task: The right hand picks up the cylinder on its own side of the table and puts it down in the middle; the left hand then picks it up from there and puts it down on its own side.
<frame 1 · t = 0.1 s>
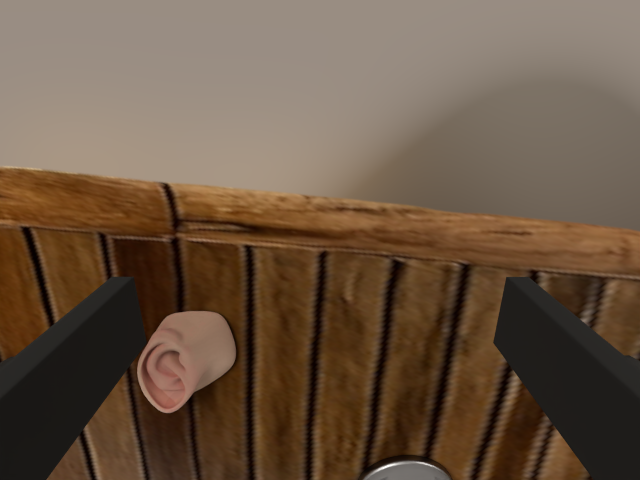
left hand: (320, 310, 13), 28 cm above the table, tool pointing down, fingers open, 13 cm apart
anatomical model: (191, 350, 47), on the table
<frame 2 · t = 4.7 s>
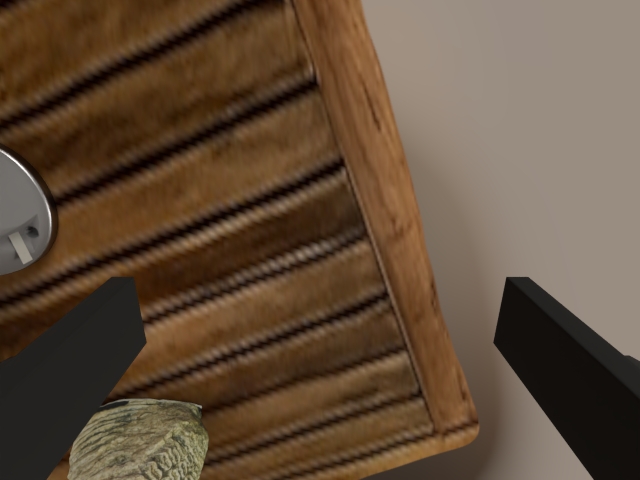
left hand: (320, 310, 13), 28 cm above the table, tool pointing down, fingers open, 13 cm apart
fossil: (153, 416, 51), on the table
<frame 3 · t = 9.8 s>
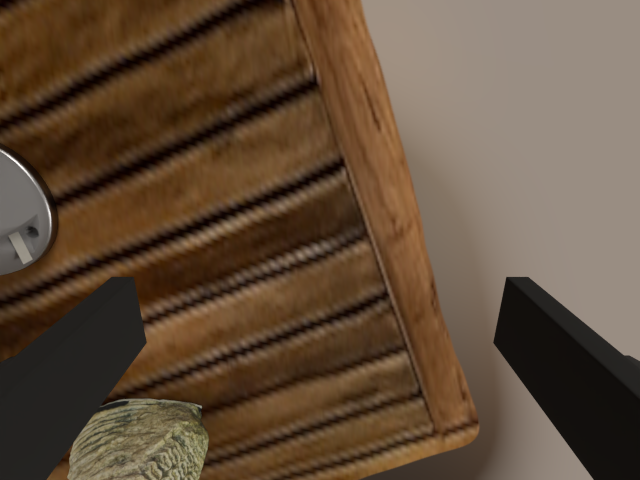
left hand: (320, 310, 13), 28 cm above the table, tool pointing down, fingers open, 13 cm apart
fossil: (153, 416, 51), on the table
when the right hand's fingers open (2 cm above the table, at t = 14.7 s): cylinder drops 1 cm, on the table.
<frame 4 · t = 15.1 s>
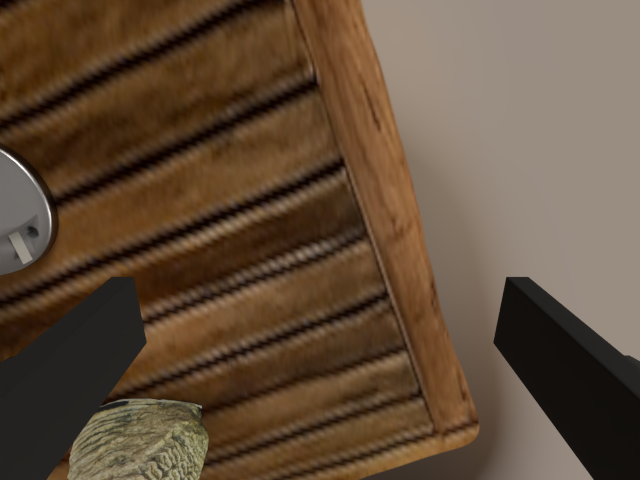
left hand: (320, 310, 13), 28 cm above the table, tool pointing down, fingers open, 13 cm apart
fossil: (153, 416, 51), on the table
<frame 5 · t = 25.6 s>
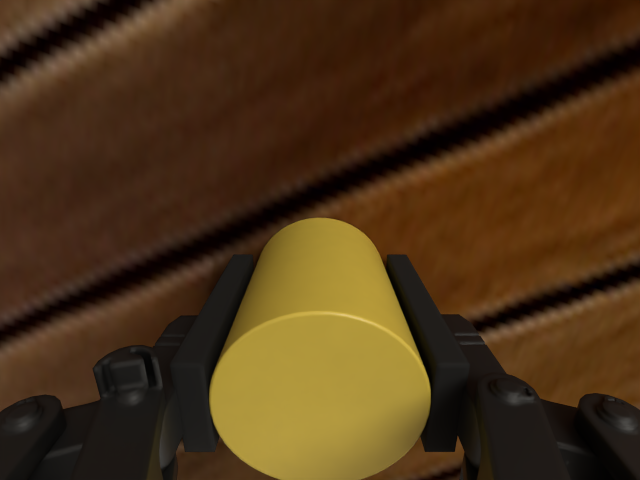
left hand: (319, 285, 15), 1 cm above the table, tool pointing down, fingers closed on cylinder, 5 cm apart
cylinder: (319, 277, 15), on the table, touching left hand
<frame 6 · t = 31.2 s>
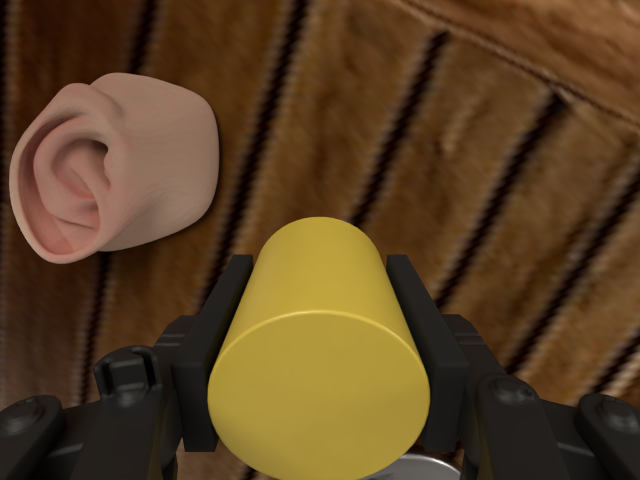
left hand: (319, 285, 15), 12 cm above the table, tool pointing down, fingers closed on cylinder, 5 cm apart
cylinder: (319, 277, 15), point 12 cm above the table, touching left hand
anatomical model: (132, 165, 25), on the table
when the left hand's fingers open (2 cm above the table, at t = 37.1 s): cylinder drops 1 cm, on the table.
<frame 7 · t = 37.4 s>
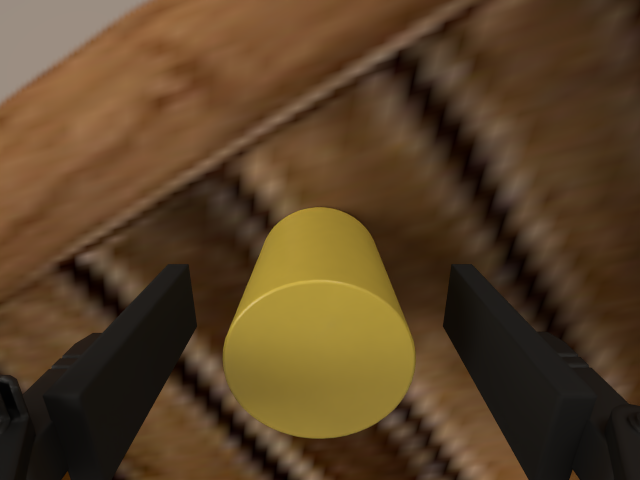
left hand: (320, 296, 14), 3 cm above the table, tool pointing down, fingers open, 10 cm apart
cylinder: (319, 263, 17), on the table
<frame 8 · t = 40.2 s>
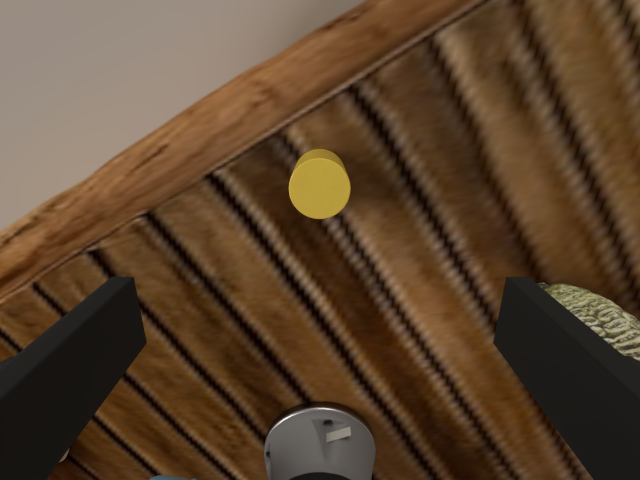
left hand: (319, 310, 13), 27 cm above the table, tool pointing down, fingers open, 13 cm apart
cylinder: (319, 175, 38), on the table
fossil: (544, 330, 45), on the table
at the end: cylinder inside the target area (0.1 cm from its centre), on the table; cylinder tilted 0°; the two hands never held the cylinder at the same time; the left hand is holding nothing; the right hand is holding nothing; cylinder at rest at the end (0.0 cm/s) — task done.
